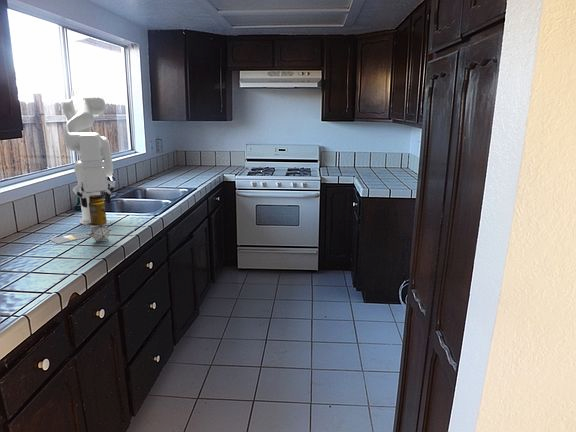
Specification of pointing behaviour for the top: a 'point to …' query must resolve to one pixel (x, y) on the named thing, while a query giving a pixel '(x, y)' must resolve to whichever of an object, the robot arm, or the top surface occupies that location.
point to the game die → (100, 233)
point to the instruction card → (69, 238)
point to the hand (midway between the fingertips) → (96, 205)
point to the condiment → (97, 211)
